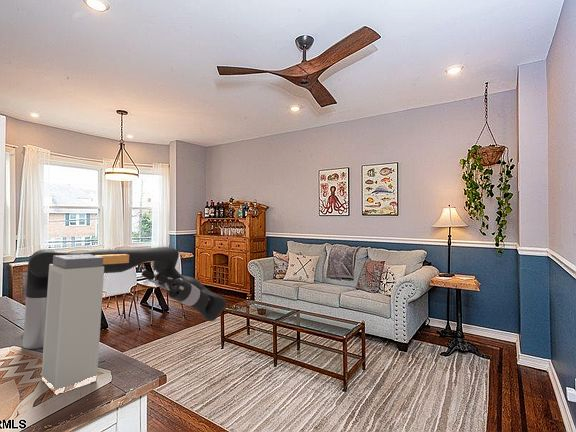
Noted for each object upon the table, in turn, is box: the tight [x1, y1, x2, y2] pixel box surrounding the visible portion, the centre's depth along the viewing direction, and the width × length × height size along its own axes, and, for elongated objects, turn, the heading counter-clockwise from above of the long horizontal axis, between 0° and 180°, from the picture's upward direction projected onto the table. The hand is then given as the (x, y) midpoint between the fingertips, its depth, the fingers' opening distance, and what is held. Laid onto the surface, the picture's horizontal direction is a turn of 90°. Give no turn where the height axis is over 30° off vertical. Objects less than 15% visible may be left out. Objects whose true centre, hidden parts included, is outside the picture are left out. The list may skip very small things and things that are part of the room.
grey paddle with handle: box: [53, 254, 129, 269], centre depth 92 cm, size 10×18×2 cm, turn 143°
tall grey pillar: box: [41, 264, 105, 390], centre depth 87 cm, size 12×10×32 cm
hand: (149, 273), depth 105 cm, fingers open, 8 cm apart
